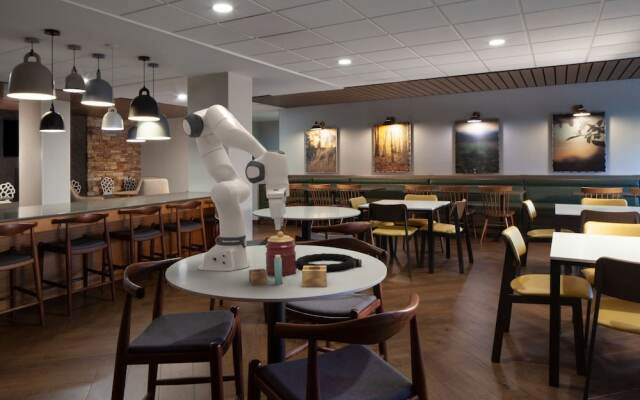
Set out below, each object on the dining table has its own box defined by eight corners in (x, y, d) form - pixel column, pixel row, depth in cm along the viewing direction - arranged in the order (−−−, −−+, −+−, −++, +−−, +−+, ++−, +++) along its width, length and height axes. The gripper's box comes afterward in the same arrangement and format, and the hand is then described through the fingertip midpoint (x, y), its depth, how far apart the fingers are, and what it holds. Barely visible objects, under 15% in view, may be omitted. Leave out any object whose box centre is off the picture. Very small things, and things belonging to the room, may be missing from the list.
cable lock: (303, 251, 224) (364, 253, 218) (303, 259, 224) (364, 261, 218) (287, 264, 197) (357, 265, 191) (288, 272, 197) (357, 274, 191)
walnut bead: (251, 286, 175) (251, 273, 174) (249, 282, 180) (248, 269, 180) (267, 284, 176) (267, 271, 176) (264, 280, 182) (263, 268, 182)
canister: (292, 276, 189) (291, 233, 187) (262, 275, 191) (260, 233, 189) (299, 269, 201) (298, 229, 200) (270, 268, 204) (269, 229, 202)
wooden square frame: (302, 286, 172) (302, 271, 172) (303, 280, 181) (303, 265, 181) (326, 286, 172) (326, 270, 172) (326, 280, 181) (326, 265, 181)
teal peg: (274, 284, 176) (273, 256, 175) (275, 283, 179) (274, 254, 178) (281, 284, 176) (281, 255, 175) (282, 282, 178) (281, 254, 178)
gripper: (272, 191, 186) (274, 225, 187) (265, 194, 166) (267, 232, 167) (288, 190, 186) (289, 224, 187) (283, 193, 166) (285, 231, 167)
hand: (279, 228), depth 177 cm, fingers open, 8 cm apart
